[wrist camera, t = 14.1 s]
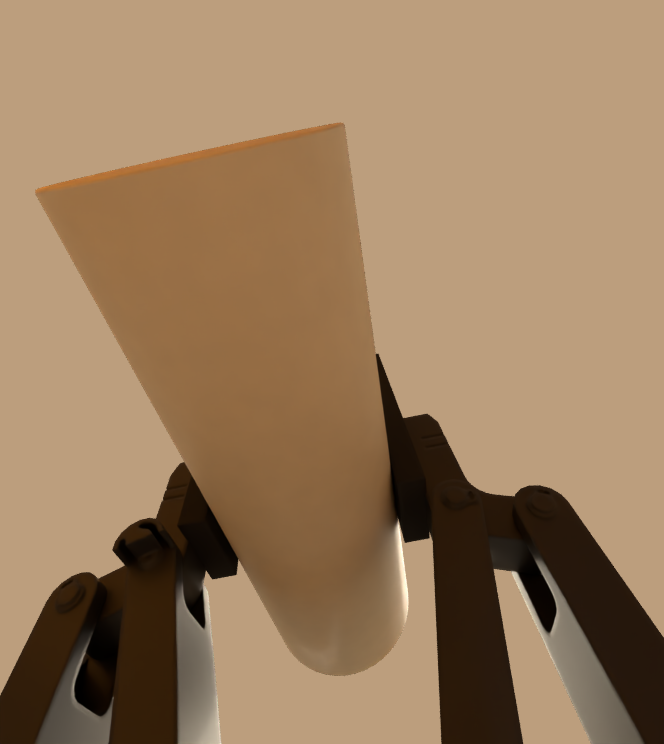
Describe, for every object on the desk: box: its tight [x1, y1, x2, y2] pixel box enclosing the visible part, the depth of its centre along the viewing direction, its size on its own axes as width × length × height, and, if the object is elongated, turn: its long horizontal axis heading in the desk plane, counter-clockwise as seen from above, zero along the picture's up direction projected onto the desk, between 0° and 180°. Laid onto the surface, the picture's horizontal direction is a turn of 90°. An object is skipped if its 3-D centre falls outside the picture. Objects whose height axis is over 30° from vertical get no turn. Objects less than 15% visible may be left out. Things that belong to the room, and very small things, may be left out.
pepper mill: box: [35, 123, 408, 676], centre depth 11 cm, size 5×5×17 cm
